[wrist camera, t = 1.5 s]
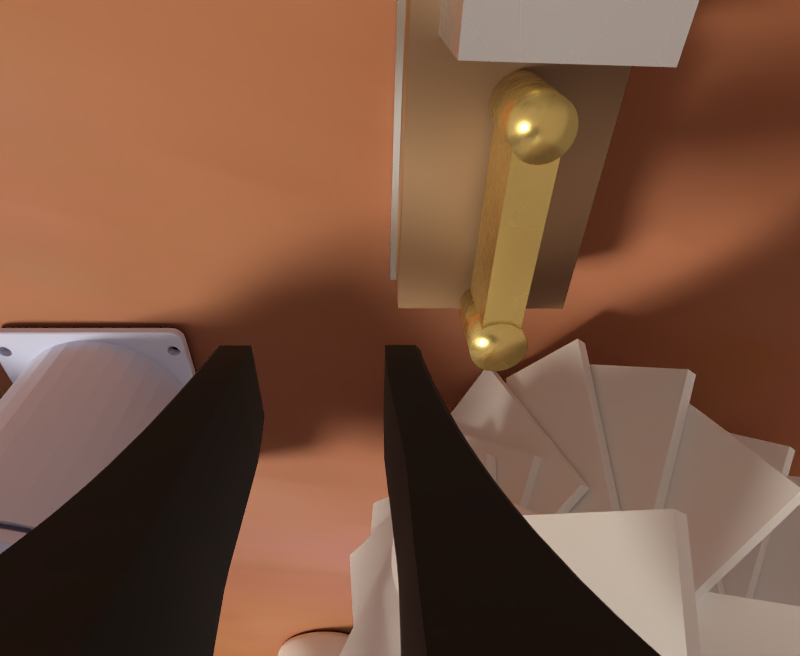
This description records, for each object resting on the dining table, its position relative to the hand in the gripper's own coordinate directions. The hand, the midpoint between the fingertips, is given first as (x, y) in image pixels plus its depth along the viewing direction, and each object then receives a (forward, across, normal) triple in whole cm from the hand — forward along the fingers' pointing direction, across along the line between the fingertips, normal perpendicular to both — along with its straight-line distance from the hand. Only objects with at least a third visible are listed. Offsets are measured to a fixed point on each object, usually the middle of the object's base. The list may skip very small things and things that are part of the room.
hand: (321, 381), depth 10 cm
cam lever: (+7, -5, -1) cm, 8 cm away
